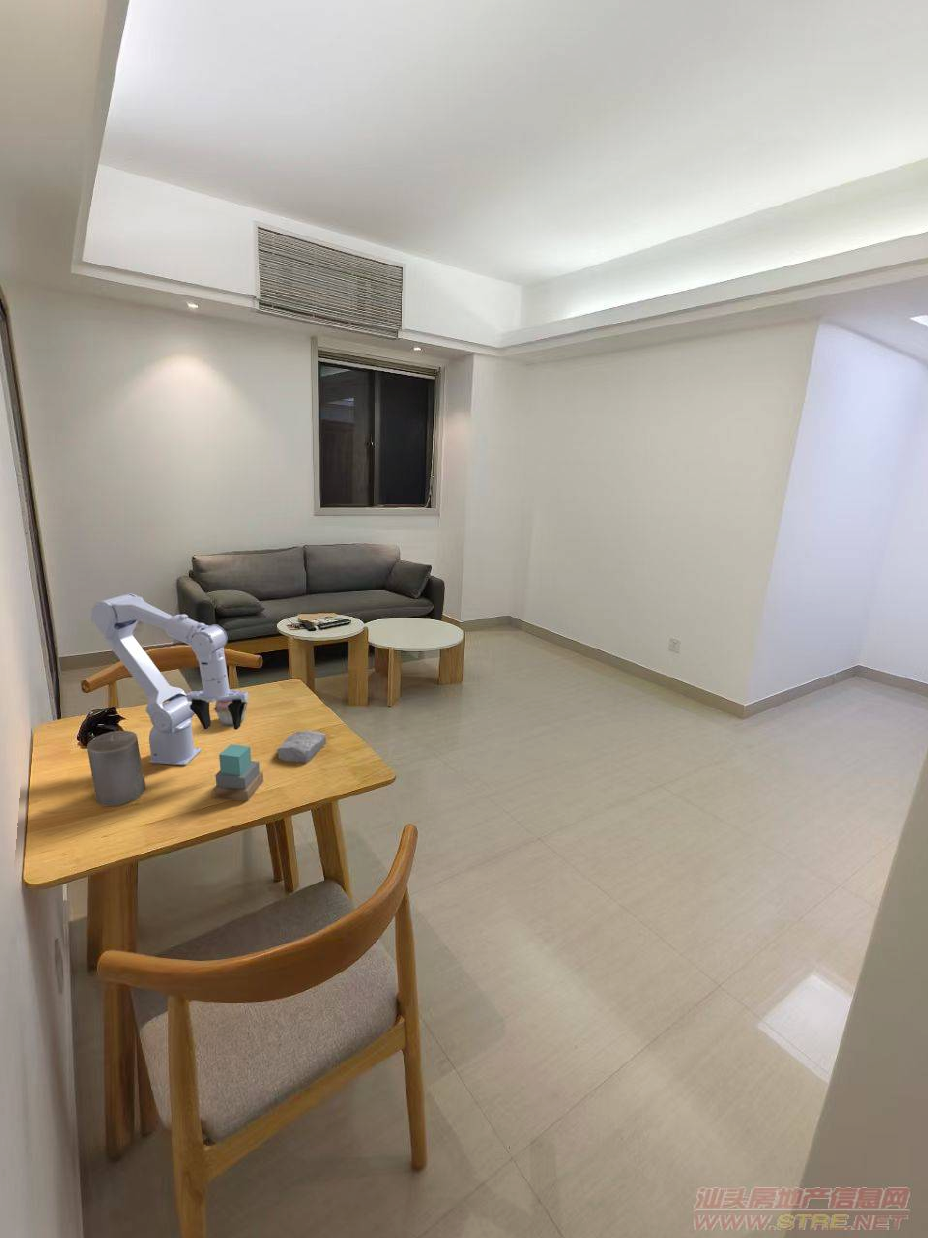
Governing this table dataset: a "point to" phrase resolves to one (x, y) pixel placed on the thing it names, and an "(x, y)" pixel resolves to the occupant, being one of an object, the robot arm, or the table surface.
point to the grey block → (238, 778)
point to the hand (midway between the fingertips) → (222, 727)
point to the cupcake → (226, 712)
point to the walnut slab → (239, 790)
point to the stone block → (301, 746)
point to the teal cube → (235, 759)
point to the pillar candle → (116, 768)
